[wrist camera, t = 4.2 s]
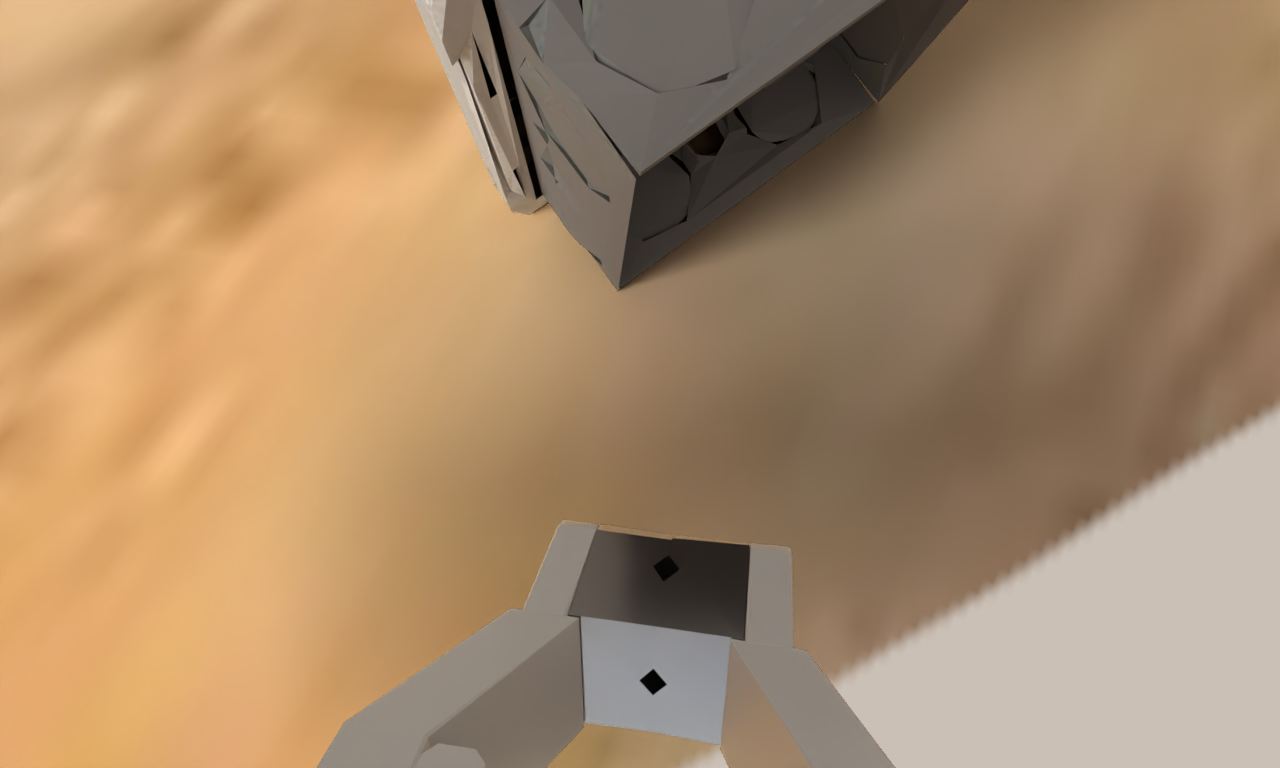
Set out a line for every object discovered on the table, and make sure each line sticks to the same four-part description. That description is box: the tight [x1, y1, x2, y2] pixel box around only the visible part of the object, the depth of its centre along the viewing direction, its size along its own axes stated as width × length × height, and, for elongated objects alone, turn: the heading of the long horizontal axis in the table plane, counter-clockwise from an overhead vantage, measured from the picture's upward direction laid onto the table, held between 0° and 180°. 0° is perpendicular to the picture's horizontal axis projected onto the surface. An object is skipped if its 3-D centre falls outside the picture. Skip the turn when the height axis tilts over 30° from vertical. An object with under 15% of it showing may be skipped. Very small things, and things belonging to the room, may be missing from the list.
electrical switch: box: [414, 0, 968, 291], centre depth 12 cm, size 9×5×9 cm, turn 126°
